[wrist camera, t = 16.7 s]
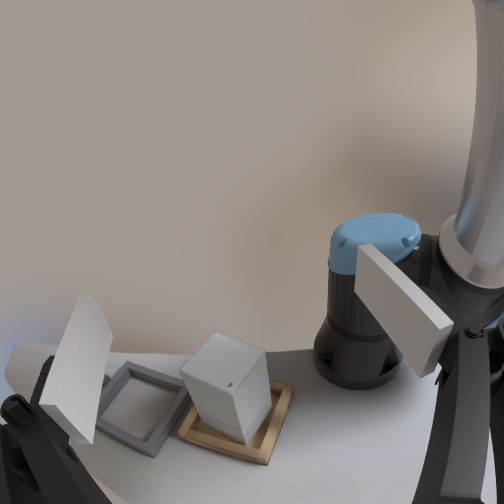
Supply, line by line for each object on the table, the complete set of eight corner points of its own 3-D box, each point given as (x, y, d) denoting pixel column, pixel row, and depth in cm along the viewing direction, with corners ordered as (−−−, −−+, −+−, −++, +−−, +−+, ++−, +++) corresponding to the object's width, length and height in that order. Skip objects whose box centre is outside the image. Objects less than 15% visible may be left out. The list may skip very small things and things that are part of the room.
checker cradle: (128, 367, 48) (124, 360, 47) (195, 390, 43) (192, 383, 42) (86, 420, 37) (80, 414, 36) (154, 458, 32) (149, 452, 31)
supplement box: (274, 407, 39) (268, 349, 33) (246, 447, 33) (231, 396, 27) (230, 389, 42) (215, 329, 37) (201, 424, 37) (176, 369, 31)
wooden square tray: (216, 377, 45) (214, 369, 44) (292, 394, 41) (292, 385, 40) (181, 439, 35) (177, 432, 34) (267, 465, 31) (266, 459, 30)
